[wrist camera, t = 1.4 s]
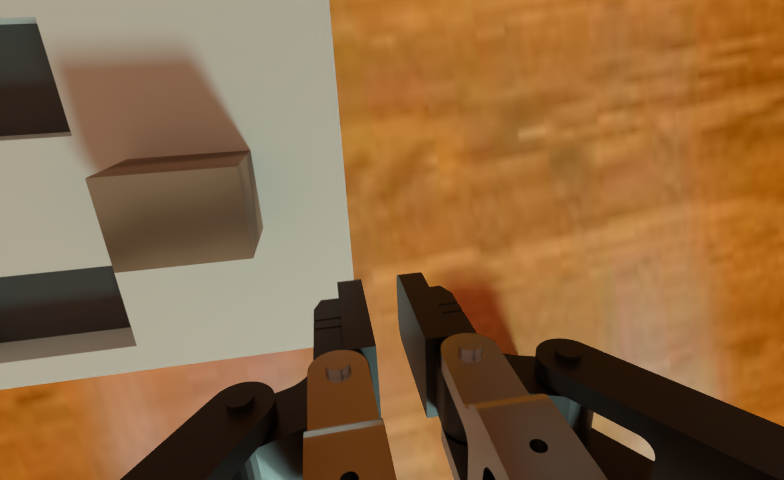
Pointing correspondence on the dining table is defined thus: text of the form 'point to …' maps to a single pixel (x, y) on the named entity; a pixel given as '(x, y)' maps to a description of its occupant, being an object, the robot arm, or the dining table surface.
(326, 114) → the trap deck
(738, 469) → the robot arm
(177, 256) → the walnut block
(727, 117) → the dining table surface
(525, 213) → the dining table surface
